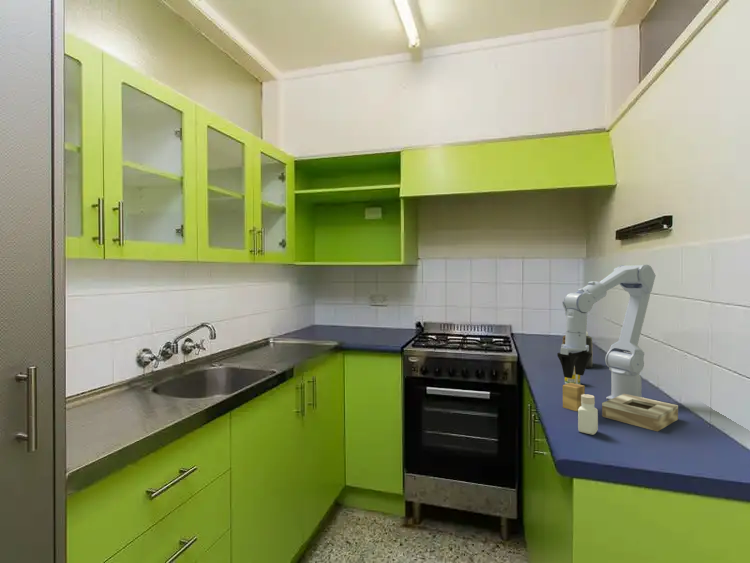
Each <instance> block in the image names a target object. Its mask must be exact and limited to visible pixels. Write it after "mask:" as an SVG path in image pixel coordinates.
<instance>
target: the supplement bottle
mask: <svg viewBox="0 0 750 563" xmlns="http://www.w3.org/2000/svg"><path fill="white" fill-rule="evenodd" d="M568 383H574V384H579V385H581V375H577V374H576V373H575V366H574V371H573V376H572V378H566V377H564V385H565V384H568Z"/></svg>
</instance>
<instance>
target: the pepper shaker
mask: <svg viewBox="0 0 750 563" xmlns="http://www.w3.org/2000/svg"><path fill="white" fill-rule="evenodd" d="M595 400H596V399H595V396H594V395H593V394H589V393H588V394H583V395H581V406H580V407H579V409H578V411H577V414H578V416H577V419H578V420H577V428H578V429H577V430H578V432H580V433H583V434H587V435H595V434H596V433H597V432H598V430H599V417H598V416H599V414H598V413H599V412H598V411H599V410H598V409H597V408H596V407H595V404H596V402H595Z"/></svg>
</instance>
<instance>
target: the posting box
mask: <svg viewBox="0 0 750 563" xmlns="http://www.w3.org/2000/svg"><path fill="white" fill-rule="evenodd" d="M642 397H643V396H642ZM642 397H637V396H633V395H628V394H622V395H620V396H618V397H615V398H613V399H607V400H606V401H603V402H602V403H601V416H602V417H603V418H606V419H610V420H614V421H617V422H621V423H624V424H629V425H632V426H636V427H640V428H643V429H647V430H650V431H655V432H659V431H661V430H663V429H664V428H666V427H667V426H670V425H671V424H673V423H674V422H676V421H678V420H679V405H678V404H674V403H669V402H665V401H659V400H655V399H651V398H646V397H645V398H642Z"/></svg>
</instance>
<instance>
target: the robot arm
mask: <svg viewBox="0 0 750 563" xmlns="http://www.w3.org/2000/svg"><path fill="white" fill-rule="evenodd" d="M655 279H656V273H655V272H654V269H653V267H652V266H651V265H650V264H636V265H635V264H633V265H631V264H630V265H625V264H620V265H619V266H617V267H614V268H613V271H612V272H611V273H609V274H608V275H607V276H605V277H604V278H603V279H602V280H600V281H598V280H596V281H595V280H594V281H593V280H592V281H591V280H589V281H588V282H587V285H585V286H584V287H581V288H578V289H577V291H575V292H569V293H568V294H566V296H564V299H563V300H562V306H563V309H564V315H565V316H566V319H565V335H566V337H565V344H562V343H561V347H560V352H557V357H558V359H559V361H560V365H561V368H562V374H563V377H564V378H565V377H566V378H572V376H573V371H574V366H575V373H576V374H577V375H580V376H584V375H585V372H586V369H587V368H586V365H587V363H588V361H589V359H590V358H591V356H592V353H589V352H588V351H589V345H586V332H588V331H587V329H588V326H587V325H588V312H591V310H592V308H593V306H594V304H596V303H597V302H599V301H600V300H601V299H603V298H605V297H606V295H607V292H608V291H609V290H611V289H614V288H615V287H617V286H618V285H619V286H621V288H622V289H623V290H624V291H625V292H627V293H628V294H629V297H628V298H629V300H628V301H627V302H628V304H627V307H626V310H625V315H624V318H623V323H622V326H621V329H620V333H619V334H620V335H619V338H618V341H615V342H614V343H612V344H611V345H610V347H609V350H608V351H607V353H606V354H605V359H604V362H605V366H607V368H609V369H608V370H609V371H610V372H611V373H610V374H611V375H610V376H611V378H610V379H611V383H610V384H611V385H610V386H611V390H610V391H611V392H610V393H611V394H610V395H608V396H606V397H605V398H606V400H610V399H613V398H615V397H618V396H620V395H622V394H628V395H633V396H637V397H642V398H646V397H644V396H642V377H641V375H640V374H641V372H642V371H643V369H644V367H645V361H644V356H645V352H644V351H643V349H641V347H640V346H639V341H640V339H641V333H642V329H643V326H644V321H645V317H646V312H647V310H648V309H647V308H648V306H649V301H650V298H651V293H652V291H653V287H654V282H655Z"/></svg>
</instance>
